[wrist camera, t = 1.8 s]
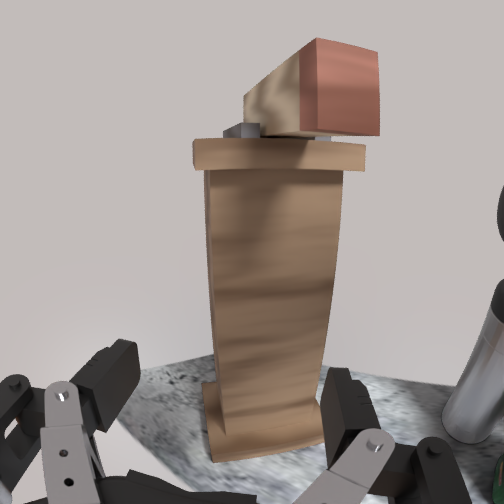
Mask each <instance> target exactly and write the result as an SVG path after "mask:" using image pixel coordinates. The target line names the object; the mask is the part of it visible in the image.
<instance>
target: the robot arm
mask: <svg viewBox="0 0 504 504" xmlns="http://www.w3.org/2000/svg"><path fill="white" fill-rule="evenodd" d="M497 224H498V229H499V233H500V235H501V238H502V240H503V241H504V187H503V189H502V192H501V195H500V198H499V203H498V210H497ZM140 374H141V372H140V364H139V357H138V348H137V344H136V343H135V342H132V341H128V340H123V339H118V340H117V341H116V342H115V343H114V344H113V345H112V346H111V347H110V348H109V347H106V348H104V349H102V350H100V351H98V352H97V353H96V354H95V355H94V356H93V357H92V358H91V360H89V361H88V362H87V363H86V365H84V366H83V367H82V368H81V369H80V370H79V371H78V372H77V373H76V374H75V376H74V377H73V378H72V379H71V380H70V381H69V382H67V381H59V382H55V383H52V384H51V385H50V386H48V387H47V388H46V389H41V388H34V387H31V385H30V382H29V380H28V378H27V377H25V376H24V375H20V374H16V375H10V376H8V377H6V378H5V379H4V380H3V381H2V382H1V383H0V504H11V503H12V495H11V493H12V491H13V489H14V488H15V486H16V485H17V483H18V482H19V480H20V478H21V477H22V476H23V474H24V473H25V471H26V470H27V468H28V467H29V465H30V463H31V462H32V461H33V459H34V458H35V456H36V455H37V453H38V452H39V450H40V449H41V450H42V461H43V469H44V478H45V484H46V491H47V497H45V498H42V499H39V500H36V501H32V502H28V503H25V504H258V503H256V499H257V495H250V494H240V493H232V492H225V491H220V492H188V491H185V490H183V489H181V488H179V487H176V486H174V485H172V484H170V483H168V482H166V481H164V480H162V479H160V478H157V477H154V476H150V475H146V474H143V473H140V472H137V471H134V470H131V469H130V470H129V472H128V474H127V476H109V477H106V476H105V473H104V470H103V467H102V464H101V460H100V457H99V453H98V450H97V446H96V442H95V438H94V435H93V433H94V432H95V430H96V429H97V430H100V431H102V432H105V433H106V432H107V431H108V429H109V428H110V426H111V425H112V423H113V421H114V420H115V418H116V417H117V415H118V414H119V412H120V411H121V409H122V408H123V406H124V405H125V403H126V402H127V400H128V399H129V397H130V395H131V394H132V392H133V391H134V389H135V388H136V386H137V385H138V383H139V380H140ZM320 411H321V418H322V426H323V433H324V441H325V449H326V457H327V466H328V469H326V470H325V471H324V472H323V473H322V474H321V475H320V476H319V477H318V478H317V479H316V480H315V481H314V482H313V483H312V484H311V485H310V486H309V488H308V489H307V490H306V491H305V492H304V493H303V494H302V495H301V496H300V497H299V498H298V499H297V500H296V501H294V502H293V503H292V504H360V502H361V501H362V500H363V498H364V497H365V495H366V494H373V495H380V496H387V497H388V503H389V504H472V502H471V499H470V496H469V493H468V490H467V488H466V485H465V482H464V480H463V477H462V475H461V472H460V469H459V467H458V465H457V462H456V460H455V457H454V455H453V452H452V450H451V448H450V446H449V445H448V443H447V442H446V441H444V440H442V439H440V438H437V437H427V438H424V439H422V440H421V441H420V442H419V443H418V445H417V446H411V445H404V444H398V443H395V441H394V439H393V437H392V436H391V435H390V434H389V433H387V432H386V431H384V430H381V427H380V424H379V421H378V418H377V415H376V413H375V410H374V407H373V405H372V401H371V398H370V396H369V393H368V390H367V387H366V386H365V385H364V384H363V383H362V382H361V381H360V380H352V378H351V375H350V372H349V369H348V368H334V367H330V368H329V370H328V373H327V377H326V380H325V384H324V388H323V392H322V395H321V401H320ZM503 416H504V279H503V280H501V281H500V282H499V284H498V285H497V287H496V289H495V292H494V295H493V298H492V301H491V305H490V307H489V310H488V313H487V317H486V319H485V321H484V324H483V327H482V330H481V332H480V335H479V337H478V340H477V342H476V345H475V347H474V349H473V352H472V354H471V356H470V359H469V361H468V363H467V365H466V367H465V369H464V371H463V373H462V375H461V377H460V379H459V381H458V384H457V385H456V387H455V389H454V391H453V393H452V394H451V396H450V398H449V400H448V402H447V404H446V405H445V407H444V409H443V412H442V422H443V426H444V427H445V429H446V431H447V432H448V433H449V435H451V436H452V437H453V438H454V439H456V440H458V441H460V442H463V443H469V444H473V443H478V442H481V441H483V440H485V439H486V438H487V437H488V436H489V435H490V434H491V432H492V431H493V430H494V428H495V427H496V426H497V424H498V423H499V422H500V420H501V419H502V417H503ZM14 419H16V421H17V422H18V424H17V425H16V427H15V428H14V429H13V430H12V431H11V433H10V434H9V435H8V436H7V438H6V439H5V436H4V434H5V430H6V428H7V427H8V426H9V425H10V423H11V422H12V421H13V420H14Z"/></svg>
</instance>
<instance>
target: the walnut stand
mask: <svg viewBox="0 0 504 504" xmlns="http://www.w3.org/2000/svg"><path fill="white" fill-rule="evenodd" d="M365 151H366V146H365V145H362V144H352V143H343V142H332V141H331V136H323V137H300V138H284V139H280V138H260V123H239V124H237V125H235V126H233V127H231V128H229V129H227V130H225V131H223V138H208V139H207V138H206V139H195V140H194V141H193V164H194V168H195V170H204V194H205V195H204V197H205V224H206V246H207V263H208V264H207V265H208V282H209V297H210V311H211V324H212V337H213V349H214V360H215V370H216V381H217V382H209V383H201V384H202V392H203V400H204V408H205V415H206V422H207V429H208V436H209V443H210V449H211V455H212V460H213V463H218V462H227V461H235V460H242V459H249V458H255V457H261V456H267V455H272V454H277V453H282V452H287V451H291V450H296V449H300V448H304V447H308V446H312V445H316V444H320V443H323V442H325V441H324V433H323V426H322V418H321V411H320V406H319V404H318V402H317V400H316V398H315V396H316V391H317V386H318V381H319V376H320V371H321V365H322V359H323V354H324V348H325V342H326V336H327V329H328V323H329V315H330V309H331V302H332V295H333V287H334V278H335V270H336V261H337V251H338V241H339V230H340V217H341V202H342V186H343V170H347V171H363V172H364V171H365Z"/></svg>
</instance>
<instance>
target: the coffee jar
mask: <svg viewBox="0 0 504 504" xmlns="http://www.w3.org/2000/svg"><path fill="white" fill-rule="evenodd" d="M492 498H493V502H494V503H495V504H504V454H503V455H502V456H501V457H500V458H499V460H498V463H497V466H496V470H495V475H494V481H493V492H492Z"/></svg>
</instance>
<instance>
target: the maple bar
mask: <svg viewBox="0 0 504 504" xmlns="http://www.w3.org/2000/svg"><path fill="white" fill-rule="evenodd" d="M379 95H380V94H379V68H378V53H377V52H375V51H372V50H368V49H365V48H361V47H357V46H353V45H348V44H345V43H340V42H336V41H331V40H326V39H321V38H315V39H314V40H312V41H311V42H309V43H308V44H307V45H305V46H304V47H303V48H301V49H300V50H299V51H297V52H296V53H295V54H294V55H292V56H291V57H290V58H289V59H287V60H286V61H285V62H283V63H282V64H281V65H280V66H278V67H277V68H276V69H275V70H273V71H272V72H271V73H270V74H269V75H267V76H266V77H265V78H264V79H263V80H262V81H261V82H259V83H258V84H257V85H256V86H255V87H253V88H252V89H251V90H250V91H249V92H248V93H247V94H245V95H244V123H260V138H280V139H284V138H300V137H323V136H380V98H379V97H380V96H379Z"/></svg>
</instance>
